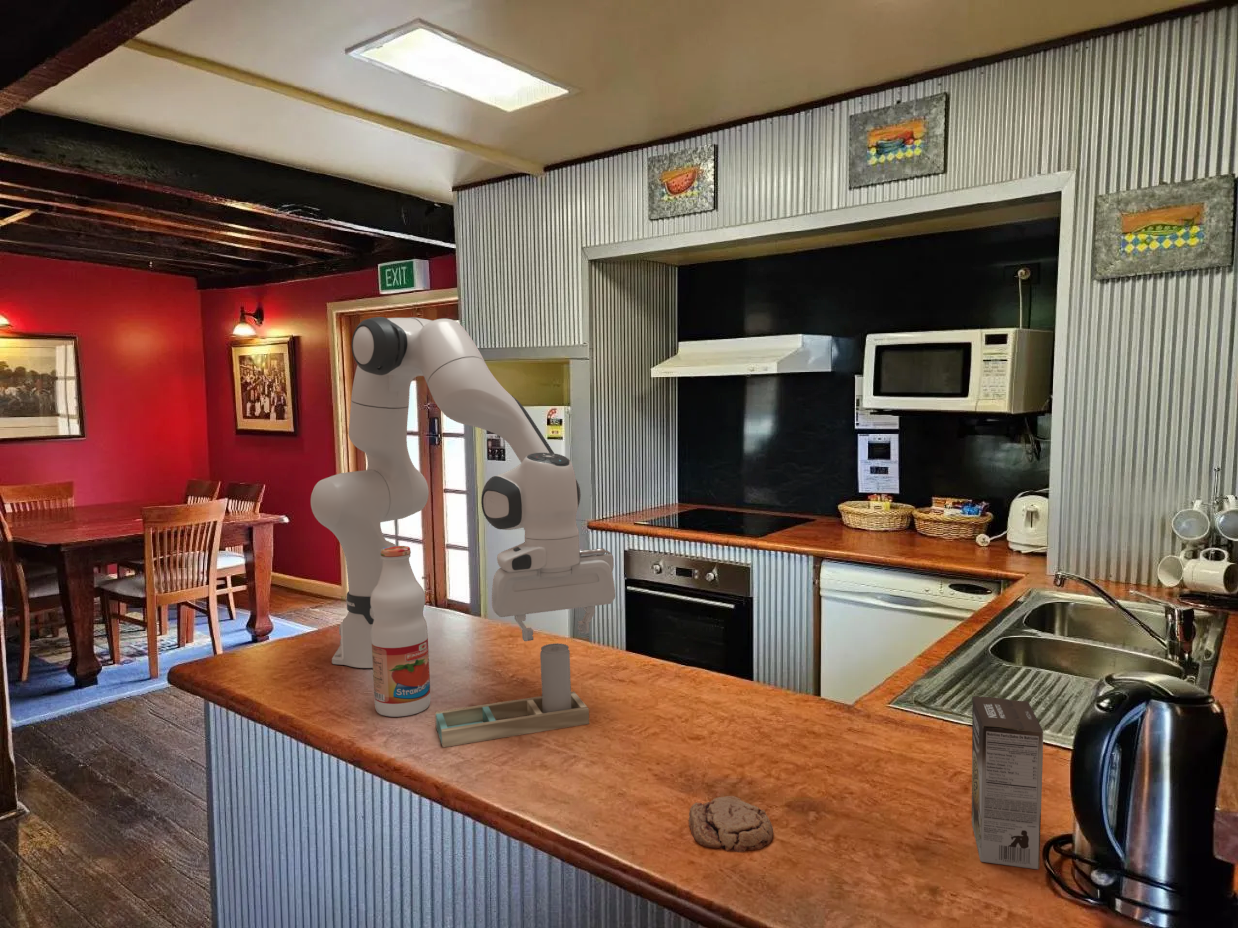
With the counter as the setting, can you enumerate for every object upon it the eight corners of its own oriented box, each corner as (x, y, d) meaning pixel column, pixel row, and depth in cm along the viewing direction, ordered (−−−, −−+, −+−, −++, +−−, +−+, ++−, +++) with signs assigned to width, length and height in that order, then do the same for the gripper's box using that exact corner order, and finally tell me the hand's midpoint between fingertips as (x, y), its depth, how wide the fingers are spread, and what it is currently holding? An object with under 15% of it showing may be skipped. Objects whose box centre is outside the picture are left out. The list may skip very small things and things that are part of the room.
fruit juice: (400, 694, 151) (392, 541, 148) (442, 701, 146) (435, 544, 144) (363, 713, 142) (354, 551, 140) (406, 721, 138) (398, 555, 136)
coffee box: (969, 822, 102) (971, 694, 101) (1026, 828, 101) (1029, 699, 99) (978, 862, 94) (980, 723, 92) (1041, 870, 92) (1044, 729, 90)
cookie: (763, 862, 95) (763, 836, 95) (675, 844, 99) (675, 820, 99) (781, 820, 104) (781, 797, 104) (700, 805, 109) (700, 783, 108)
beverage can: (573, 712, 140) (571, 643, 139) (569, 724, 135) (567, 652, 134) (545, 712, 141) (543, 642, 139) (539, 723, 136) (537, 652, 135)
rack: (435, 726, 136) (435, 711, 135) (574, 705, 143) (574, 691, 143) (442, 747, 128) (442, 731, 127) (589, 723, 135) (588, 708, 135)
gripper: (606, 544, 142) (609, 623, 143) (487, 555, 135) (491, 639, 136) (619, 550, 136) (622, 633, 137) (495, 562, 129) (499, 649, 130)
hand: (556, 636), depth 137 cm, fingers open, 8 cm apart
